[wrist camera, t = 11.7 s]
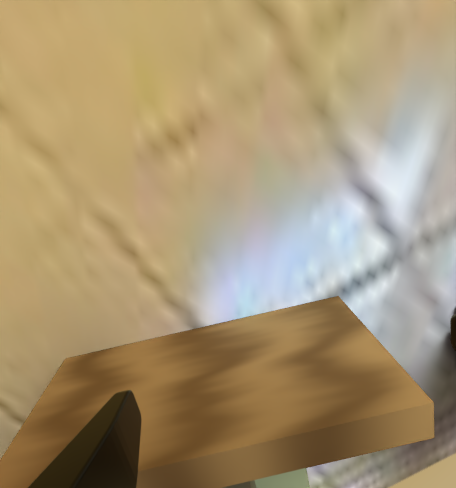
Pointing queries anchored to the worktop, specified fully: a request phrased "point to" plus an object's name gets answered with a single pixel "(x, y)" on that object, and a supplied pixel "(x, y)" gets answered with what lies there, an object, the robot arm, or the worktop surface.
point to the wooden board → (235, 400)
